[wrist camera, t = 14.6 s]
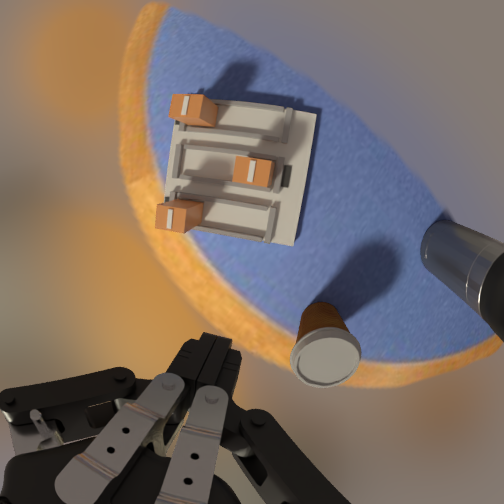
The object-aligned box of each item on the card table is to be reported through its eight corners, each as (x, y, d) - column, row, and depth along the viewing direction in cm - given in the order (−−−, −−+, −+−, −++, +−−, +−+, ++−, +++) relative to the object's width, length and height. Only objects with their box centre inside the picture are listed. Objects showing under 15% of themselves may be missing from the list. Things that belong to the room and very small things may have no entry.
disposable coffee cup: (279, 317, 44) (274, 363, 33) (324, 281, 41) (334, 320, 30) (315, 351, 45) (319, 399, 34) (358, 319, 42) (376, 363, 31)
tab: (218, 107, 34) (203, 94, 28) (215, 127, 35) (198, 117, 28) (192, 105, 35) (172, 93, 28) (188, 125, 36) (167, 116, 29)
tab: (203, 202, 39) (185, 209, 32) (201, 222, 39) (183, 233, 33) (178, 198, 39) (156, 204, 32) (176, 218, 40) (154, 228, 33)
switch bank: (315, 116, 35) (317, 112, 32) (293, 243, 40) (293, 248, 38) (182, 101, 36) (176, 98, 34) (166, 220, 42) (159, 223, 40)
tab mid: (274, 163, 36) (271, 160, 29) (271, 184, 37) (267, 187, 30) (245, 158, 36) (235, 155, 29) (242, 180, 37) (231, 181, 30)
